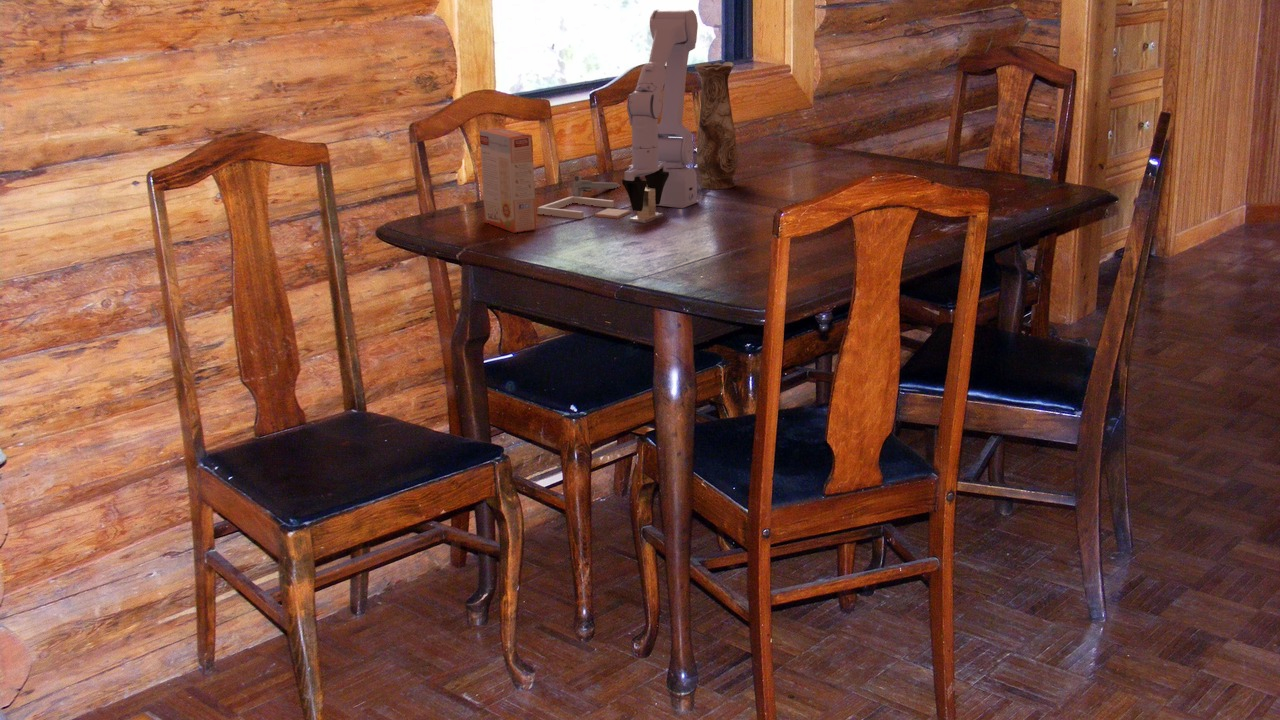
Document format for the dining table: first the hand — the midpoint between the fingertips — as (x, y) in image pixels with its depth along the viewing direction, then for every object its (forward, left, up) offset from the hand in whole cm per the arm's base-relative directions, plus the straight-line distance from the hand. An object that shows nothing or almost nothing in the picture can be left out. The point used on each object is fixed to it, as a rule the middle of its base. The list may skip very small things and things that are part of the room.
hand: (646, 207), depth 284 cm
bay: (+19, 0, -3) cm, 19 cm away
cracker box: (+23, +20, -3) cm, 31 cm away
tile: (+9, 0, -3) cm, 10 cm away
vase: (+3, -39, -3) cm, 39 cm away
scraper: (0, 0, -3) cm, 3 cm away
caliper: (+25, -18, -3) cm, 31 cm away
